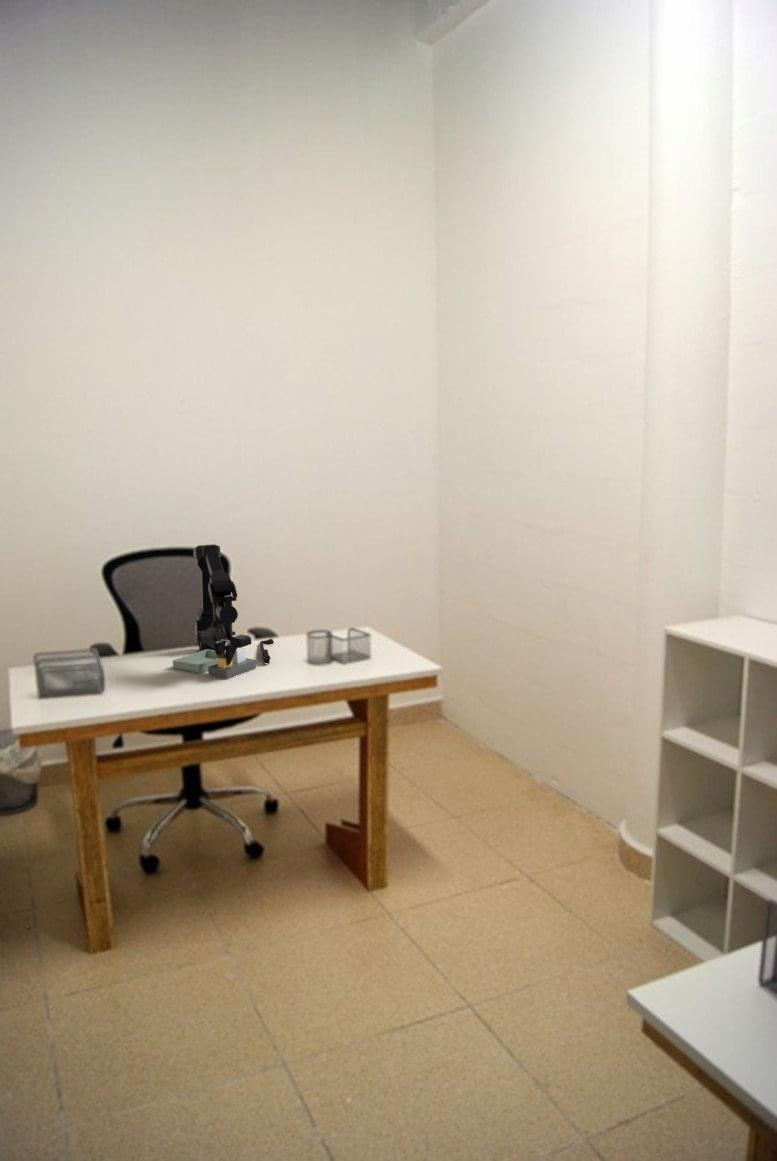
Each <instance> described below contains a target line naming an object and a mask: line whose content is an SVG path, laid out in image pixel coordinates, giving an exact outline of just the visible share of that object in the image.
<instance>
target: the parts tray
mask: <svg viewBox="0 0 777 1161" xmlns="http://www.w3.org/2000/svg"><path fill="white" fill-rule="evenodd" d="M215 664H218V657H217V654H216V652H215V651H214V650H208V649H206V650H203V651H200V652H194V653H190V654H188V655H185V656H182V657H179V658H176V659H173V660H172V668H173V670H177V671H181V670H182V671H181V672H186V671H187V673H191V672H193V673H192V674H196V673H201V674H203V673H202V672H204V673H206V672H205V671H207V672H208V667H209V666H212V665H215Z"/></svg>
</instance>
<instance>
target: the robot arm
mask: <svg viewBox="0 0 777 1161" xmlns="http://www.w3.org/2000/svg"><path fill="white" fill-rule="evenodd" d="M192 553H193V559H194V560H195V563H196V565H197V566H198V568H199V569H200V600H201V602H200V604H201V605H200V606H201V607H200V609H199V610H198V612H197V613H196V620H195V622H194V629H193V630H194V635H195V637H196V638H197V639H196V640H197V642H198V650H197V649H196V650H195V653H197V652H200V651H203V650H206V649H208V650H214V651H215V652H216V654H217V657H218V655H219V654H222V653H225V652H226V661H227V665H230V664H231V661H232V659H233V656H234V654H235V652H236V650H237V648H245V647H246V646H250V645H252V638H251V636H250V635H246V634H239V635H236V631H233V624H234V623H235V622H236V621H237V619H238V617H239V616H238V614H239V612H238V611H237V609H236V607H235V606H233V602H237V598H238V592H237V589H236V584H235V583H234V581H233V580H232V579H231V576H230V574H228V573H227V572H225V570H224V566H223V564H222V560H221V557H222V555H221V547H220V545H218V544H215V543H214V544H212V543H211V544H201V545H200V544H199V545H196V547H195V548H193V552H192ZM235 635H236V636H235Z"/></svg>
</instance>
